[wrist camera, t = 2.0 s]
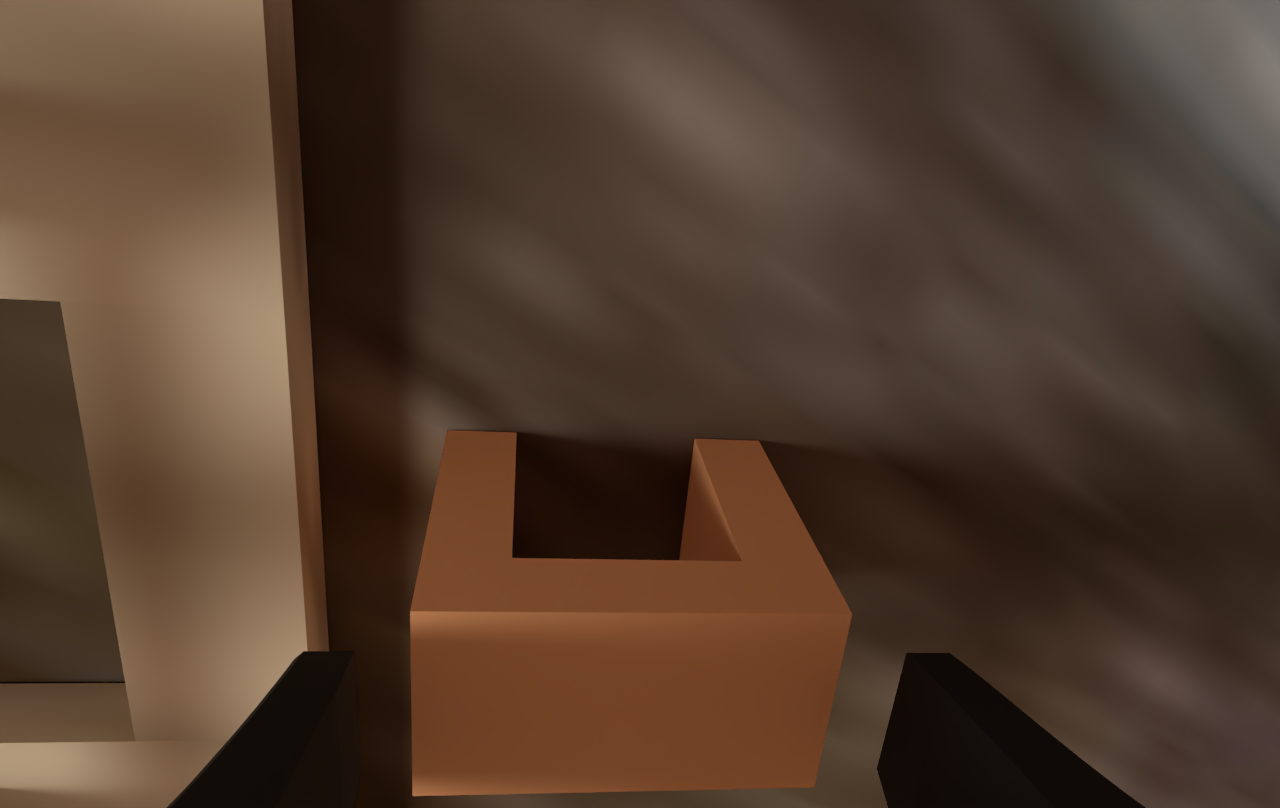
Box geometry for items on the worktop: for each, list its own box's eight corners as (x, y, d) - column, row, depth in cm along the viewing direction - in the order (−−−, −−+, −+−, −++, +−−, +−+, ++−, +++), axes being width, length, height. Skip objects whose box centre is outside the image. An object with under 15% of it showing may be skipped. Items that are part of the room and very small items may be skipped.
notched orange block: (737, 578, 17) (814, 787, 13) (446, 574, 17) (412, 795, 12) (758, 440, 16) (852, 614, 11) (447, 430, 15) (409, 611, 11)
